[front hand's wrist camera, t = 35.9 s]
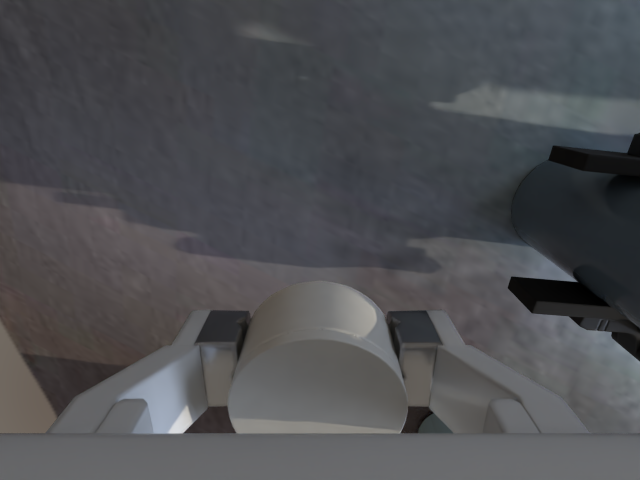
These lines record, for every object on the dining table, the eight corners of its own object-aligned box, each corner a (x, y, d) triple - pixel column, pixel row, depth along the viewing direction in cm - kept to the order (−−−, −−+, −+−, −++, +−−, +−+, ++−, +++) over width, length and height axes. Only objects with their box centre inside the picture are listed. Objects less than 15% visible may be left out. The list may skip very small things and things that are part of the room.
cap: (270, 406, 11) (257, 483, 9) (227, 296, 10) (201, 358, 8) (400, 383, 11) (420, 458, 9) (377, 265, 9) (392, 321, 7)
